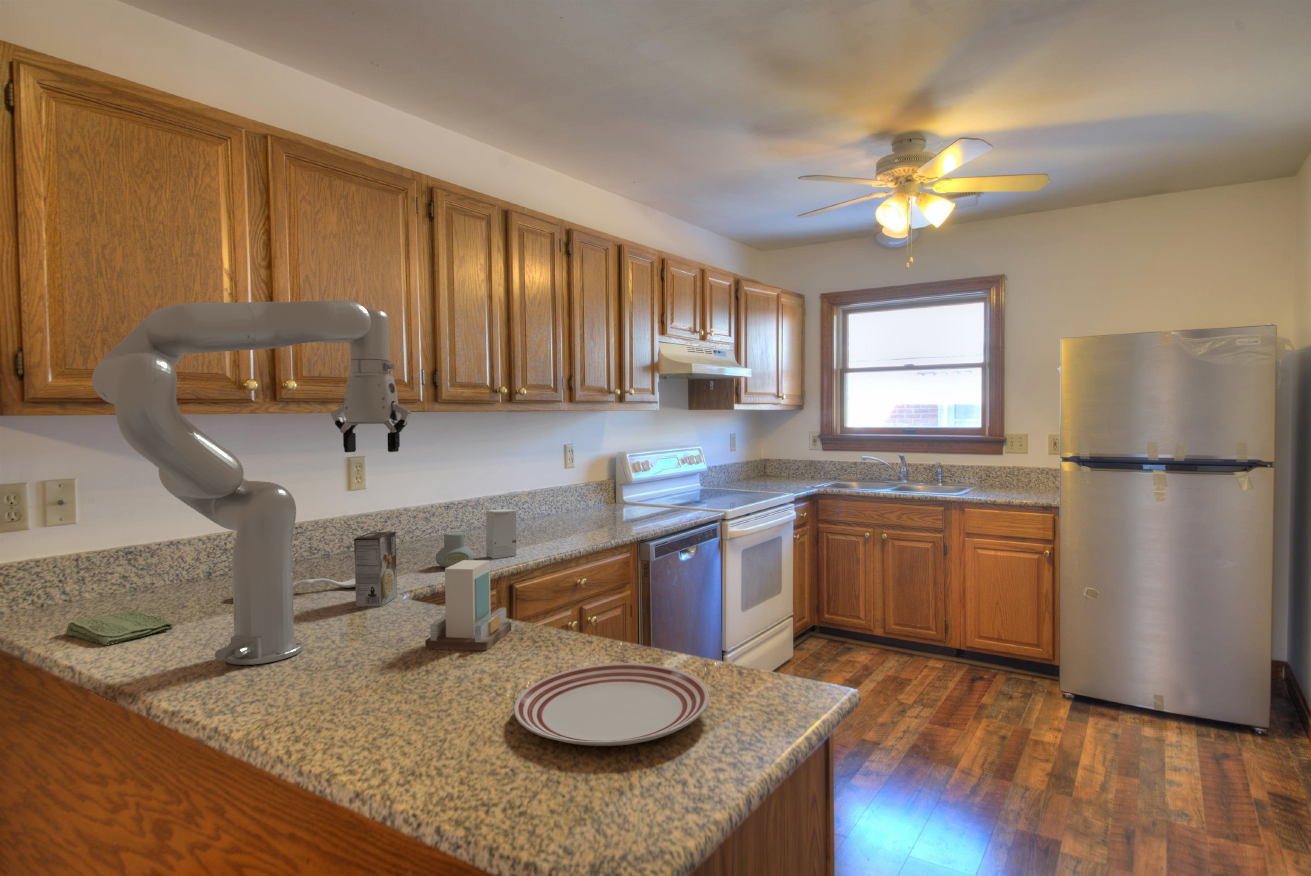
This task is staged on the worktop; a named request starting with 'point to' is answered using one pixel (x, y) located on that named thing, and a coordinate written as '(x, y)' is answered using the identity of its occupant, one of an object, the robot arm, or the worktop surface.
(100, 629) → the washcloth
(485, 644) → the napkin stand
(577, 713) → the dinner plate
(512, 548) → the skincare box
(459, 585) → the carton
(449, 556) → the air freshener
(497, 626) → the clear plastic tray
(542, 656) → the worktop surface
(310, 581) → the spoon
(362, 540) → the coffee box
